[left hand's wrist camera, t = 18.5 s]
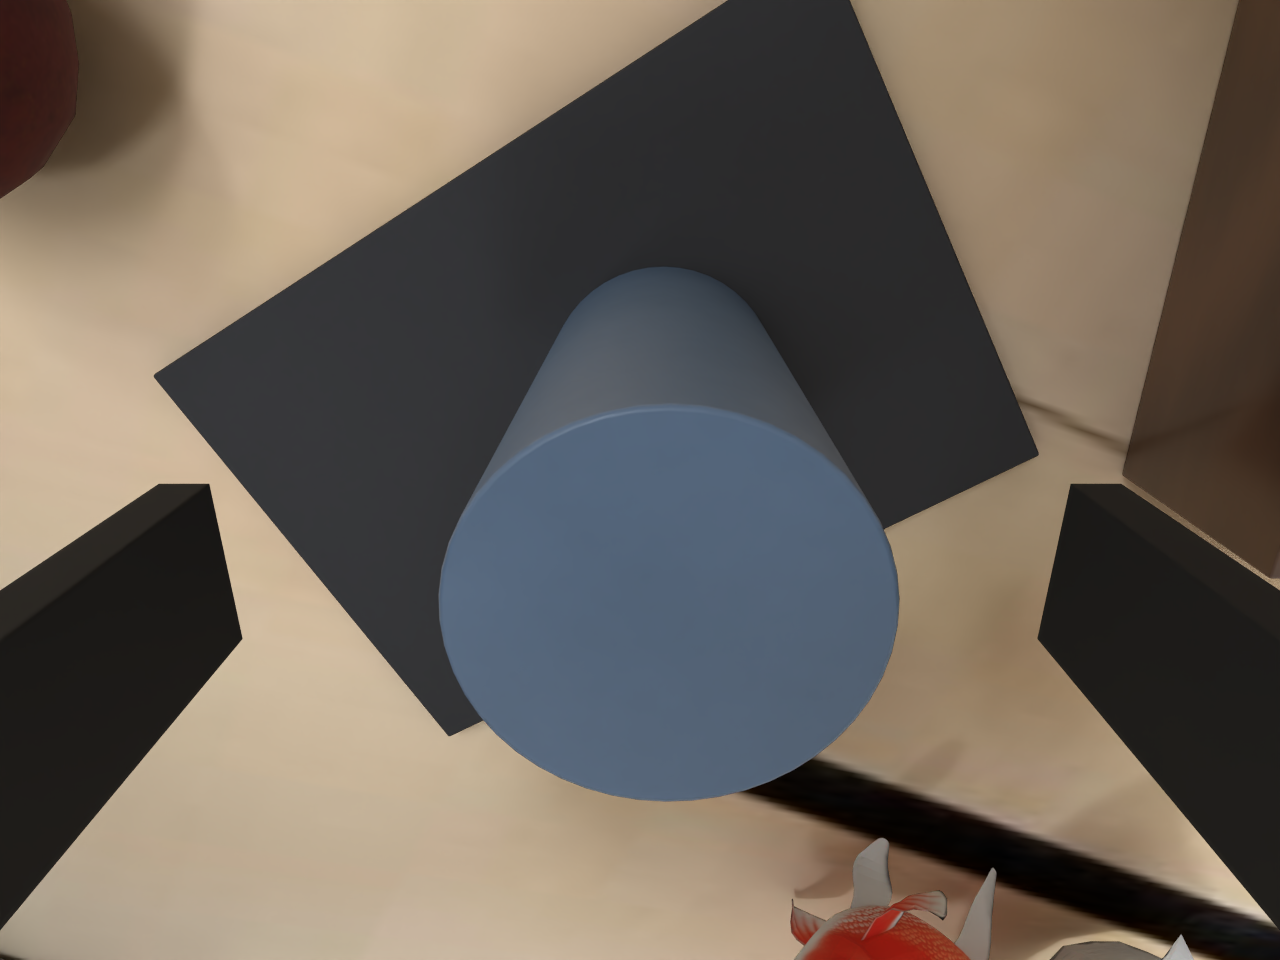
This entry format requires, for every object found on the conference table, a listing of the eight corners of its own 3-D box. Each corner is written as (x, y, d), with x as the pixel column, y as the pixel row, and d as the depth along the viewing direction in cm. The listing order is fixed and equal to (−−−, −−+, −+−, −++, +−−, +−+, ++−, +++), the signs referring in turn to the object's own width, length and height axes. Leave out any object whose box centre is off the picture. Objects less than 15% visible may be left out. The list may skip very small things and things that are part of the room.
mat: (453, 725, 27) (448, 737, 26) (164, 370, 22) (151, 376, 22) (1031, 448, 23) (1040, 455, 22) (818, -57, 18) (824, -63, 18)
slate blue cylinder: (623, 518, 23) (590, 860, 12) (507, 340, 21) (342, 548, 10) (812, 420, 22) (972, 698, 11) (708, 220, 20) (771, 309, 9)
